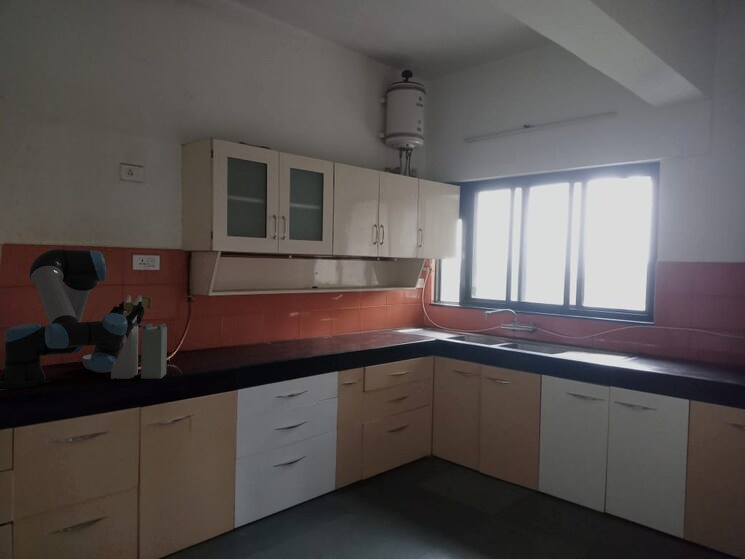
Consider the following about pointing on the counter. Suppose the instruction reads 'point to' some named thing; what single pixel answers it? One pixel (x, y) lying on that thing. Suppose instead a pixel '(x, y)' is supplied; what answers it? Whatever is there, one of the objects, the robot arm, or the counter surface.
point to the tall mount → (127, 356)
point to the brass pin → (145, 303)
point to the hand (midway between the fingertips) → (135, 298)
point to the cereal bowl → (87, 364)
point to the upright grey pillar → (153, 351)
